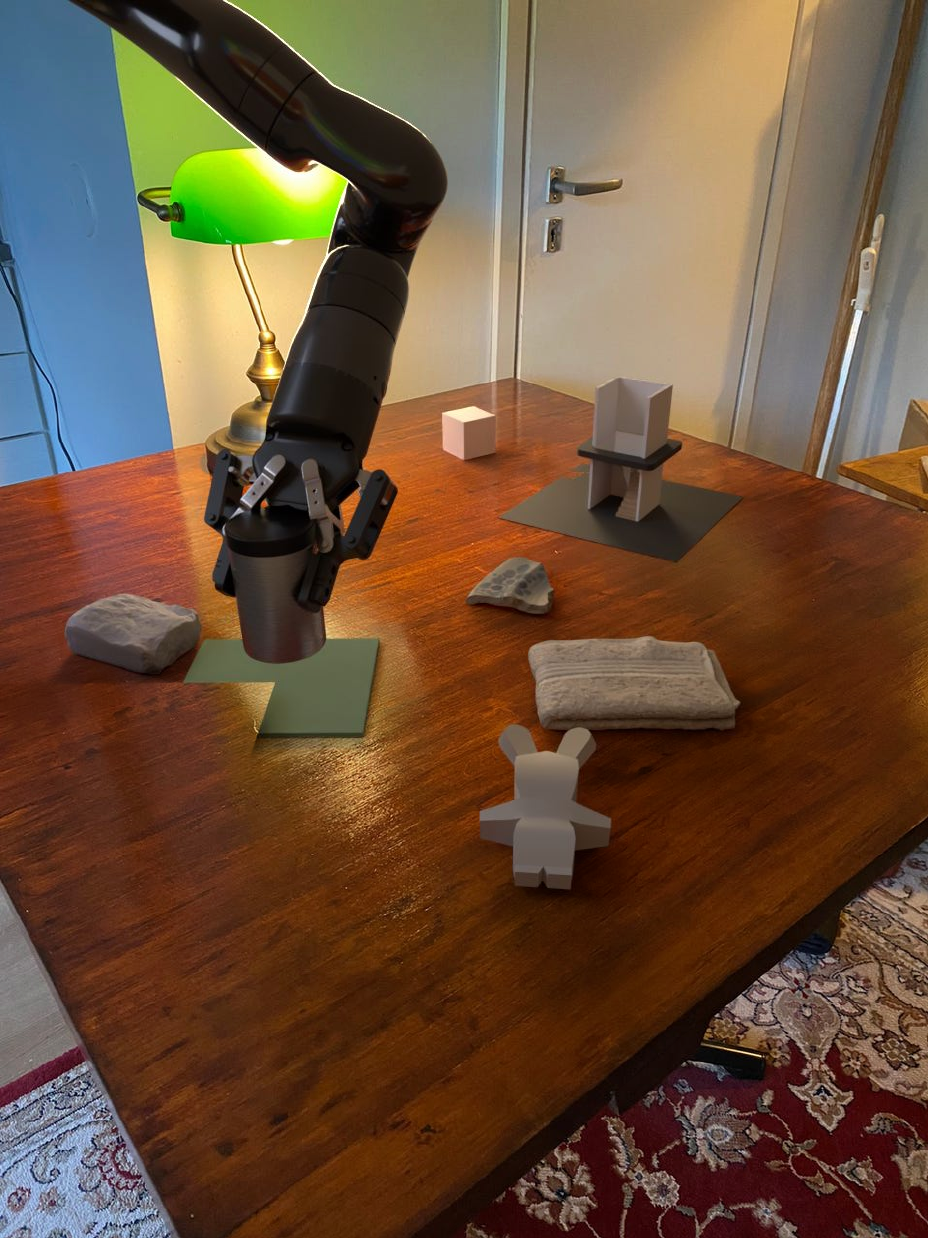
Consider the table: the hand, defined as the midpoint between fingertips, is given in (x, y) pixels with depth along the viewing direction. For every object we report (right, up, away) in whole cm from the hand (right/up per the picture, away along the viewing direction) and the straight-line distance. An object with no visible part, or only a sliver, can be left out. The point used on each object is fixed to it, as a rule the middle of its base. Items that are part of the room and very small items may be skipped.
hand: (266, 600), depth 63 cm
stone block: (-19, -4, +30) cm, 36 cm away
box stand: (+35, +14, +60) cm, 71 cm away
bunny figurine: (+20, -17, +7) cm, 27 cm away
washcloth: (+29, -9, +21) cm, 37 cm away
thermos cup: (+1, -3, +4) cm, 5 cm away
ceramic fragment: (+20, +1, +39) cm, 44 cm away
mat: (-4, -8, +23) cm, 25 cm away
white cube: (+14, +25, +80) cm, 85 cm away
